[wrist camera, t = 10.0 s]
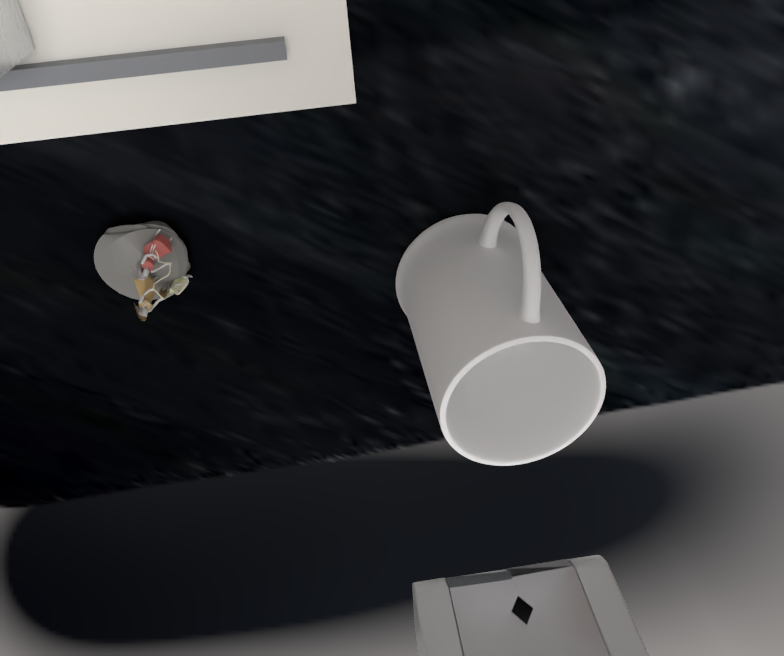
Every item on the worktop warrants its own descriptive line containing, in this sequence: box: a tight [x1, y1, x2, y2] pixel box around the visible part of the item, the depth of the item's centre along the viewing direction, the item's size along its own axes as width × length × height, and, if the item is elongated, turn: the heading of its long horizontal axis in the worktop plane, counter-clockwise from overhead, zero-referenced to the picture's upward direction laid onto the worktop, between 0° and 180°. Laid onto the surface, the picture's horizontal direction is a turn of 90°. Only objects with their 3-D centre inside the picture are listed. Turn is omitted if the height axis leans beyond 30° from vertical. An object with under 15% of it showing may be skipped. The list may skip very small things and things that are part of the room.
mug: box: [396, 202, 606, 466], centre depth 36 cm, size 12×8×12 cm
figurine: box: [94, 221, 193, 321], centre depth 35 cm, size 5×4×6 cm
